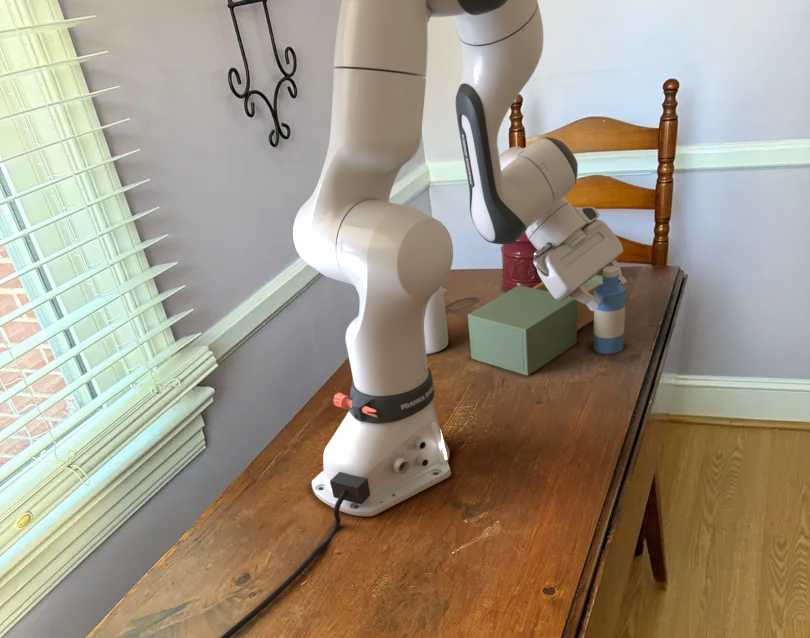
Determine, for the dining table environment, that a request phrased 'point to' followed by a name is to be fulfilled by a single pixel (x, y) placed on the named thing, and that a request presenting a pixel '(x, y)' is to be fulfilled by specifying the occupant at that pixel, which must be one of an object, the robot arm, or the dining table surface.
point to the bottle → (609, 313)
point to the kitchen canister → (519, 264)
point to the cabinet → (522, 329)
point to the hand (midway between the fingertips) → (610, 297)
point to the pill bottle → (435, 323)
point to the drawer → (582, 310)
